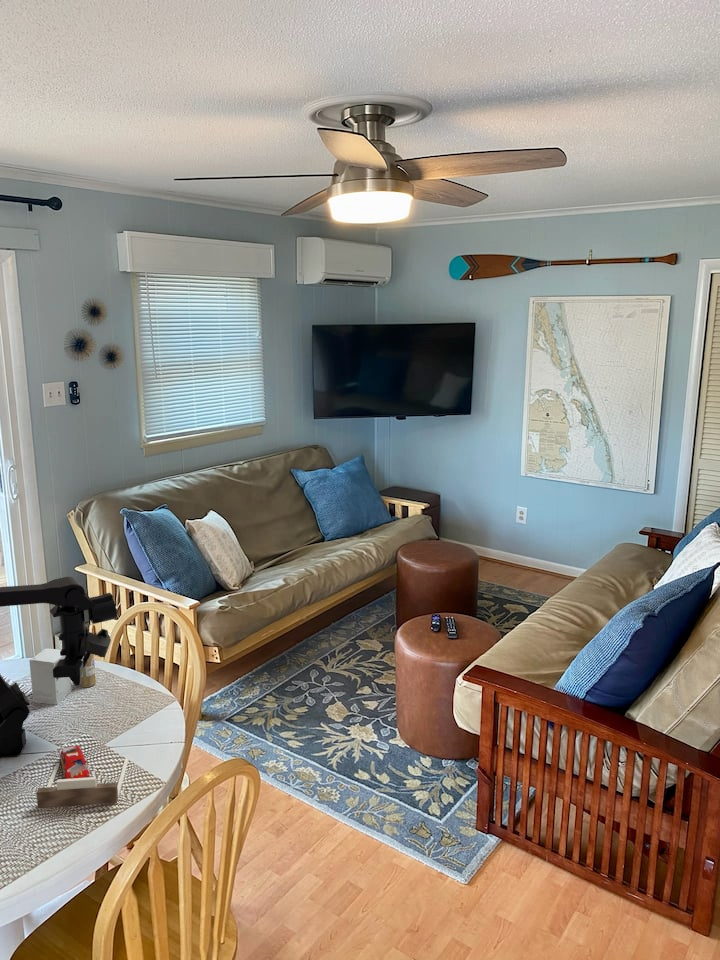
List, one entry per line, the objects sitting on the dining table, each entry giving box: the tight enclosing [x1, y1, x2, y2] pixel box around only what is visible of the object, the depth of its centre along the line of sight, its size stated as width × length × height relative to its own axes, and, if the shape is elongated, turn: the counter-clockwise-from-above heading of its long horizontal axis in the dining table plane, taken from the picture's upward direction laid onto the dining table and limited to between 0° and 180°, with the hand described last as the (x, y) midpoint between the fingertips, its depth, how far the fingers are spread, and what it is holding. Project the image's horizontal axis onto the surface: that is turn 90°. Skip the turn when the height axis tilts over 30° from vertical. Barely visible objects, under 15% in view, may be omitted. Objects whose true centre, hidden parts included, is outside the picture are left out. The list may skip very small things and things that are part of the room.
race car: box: [59, 745, 90, 779], centre depth 169 cm, size 13×5×4 cm, turn 28°
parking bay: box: [36, 757, 130, 809], centre depth 164 cm, size 16×16×6 cm
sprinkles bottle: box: [79, 652, 97, 688], centre depth 205 cm, size 5×5×14 cm
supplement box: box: [29, 647, 72, 706], centre depth 198 cm, size 7×7×13 cm
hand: (77, 684), depth 183 cm, fingers closed
